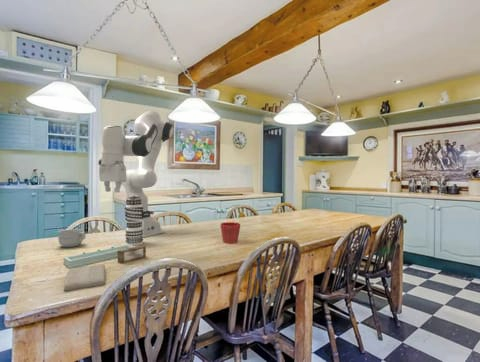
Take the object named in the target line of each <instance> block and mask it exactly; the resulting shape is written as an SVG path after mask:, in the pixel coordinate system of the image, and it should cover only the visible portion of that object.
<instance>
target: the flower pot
mask: <svg viewBox="0 0 480 362" xmlns="http://www.w3.org/2000/svg"><path fill="white" fill-rule="evenodd" d="M240 229H241V223H239V222H234V221H233V222H228V221H227V222H222V223H220V230H221V231H220V232H221V237H222V242H223V243H224V244H237V243H238V241H239V237H240Z"/></svg>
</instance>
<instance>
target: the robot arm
mask: <svg viewBox="0 0 480 362" xmlns="http://www.w3.org/2000/svg"><path fill="white" fill-rule="evenodd" d="M133 126H134V131H135V132H136V133H137V134H138V135H126V134H125V133H124V129H123V127H122V126H121V125H106V126H105V127H104V128H103V131H102V137H101V138H102V142H101V144H102V152H101V158H100V159H99V160H98V162H97V164H98V166H99V167H98V168H99V169H98V174H99V176H98V177H99V180H100V182H103V185H104V188H105V192H106V193H107V192H111V189H112V187H110V185H111V183H114V184H115V186H114V190H113V191H114V193H120V191H121V186H123V188H124V190H125V193H126V195H127V196H126V198H127V197H128V196H133V195H137V196H140V197H141V198H142V207H143V209H141V210H143V212H141V214H143V216H141V217H143V219H142V220H143V221H142V230H143V231H142V232H143V234H142V236H143V238H145V237H151V236H156V235H159V234H163V233H165V230H164V229H163V228H162V227H161V223H160V222H159V221H158V220H157V219H156V218H154V217H153V216H154V214H155V211H153V210H149V198H148V196H147V195H146V193H144V190H143V189H147V188H152V187H154V186H155V185H156V183H157V179H158V178H157V174H156V172H155V165H156V162H157V159H158V157H159V155H160V152H161V149H162V145H163V143H165V142H167V141H168V140H170V139H171V138H172V136H173V135H174V126H173V124H172V123H170V122H169V121H165V120H163V119H161V116H160V114H159V113H158V112H157V111H155V110H149V111H145V112H144V113H142V114H141V115H140V116H138V117H137V118H136V119H135V121H134V124H133ZM125 156H126V157H136V161H137V162H138V166H137V168H136V169H127V167H126V165H125V163H124V160H125V159H124V158H125ZM151 215H153V216H151Z"/></svg>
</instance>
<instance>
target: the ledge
mask: <svg viewBox="0 0 480 362" xmlns="http://www.w3.org/2000/svg"><path fill="white" fill-rule="evenodd" d="M132 247H134V246H131V245H126V244H125V245H119V246H112V247H110V248H103V249H97V250H94V251H88V252H82V253H79V254H78V253H77V254H72V255H69V256H65V257H63V265H65V266H66V267H68V268H69V269H71V268H77V267H84V266H87V265H90V264H91V265H92V264H94V263H100V262H103V261H107V260H112V259H118V250H123V249H127V248H132Z"/></svg>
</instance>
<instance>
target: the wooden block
mask: <svg viewBox="0 0 480 362" xmlns="http://www.w3.org/2000/svg"><path fill="white" fill-rule="evenodd" d="M145 258H147V247H146V246H145V245H143V244H140V245H136V246H133V247H132V248H127V249H123V250H118V257H117V263H118V264H125V263H130V262H134V261H137V260H140V259H145Z"/></svg>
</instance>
